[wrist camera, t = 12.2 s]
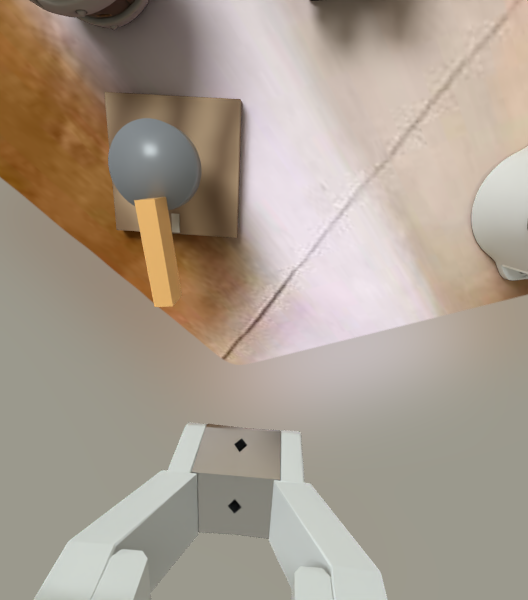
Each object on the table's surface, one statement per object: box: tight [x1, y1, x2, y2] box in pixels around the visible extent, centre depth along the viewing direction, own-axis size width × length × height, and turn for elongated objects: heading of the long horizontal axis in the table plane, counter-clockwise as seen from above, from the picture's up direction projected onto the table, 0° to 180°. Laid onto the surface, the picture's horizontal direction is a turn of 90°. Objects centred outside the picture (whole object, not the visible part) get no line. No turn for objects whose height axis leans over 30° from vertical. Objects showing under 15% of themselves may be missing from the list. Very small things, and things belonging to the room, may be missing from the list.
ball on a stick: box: [108, 118, 202, 307], centre depth 36 cm, size 18×9×6 cm, turn 4°
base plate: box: [104, 92, 242, 238], centre depth 43 cm, size 16×16×2 cm
